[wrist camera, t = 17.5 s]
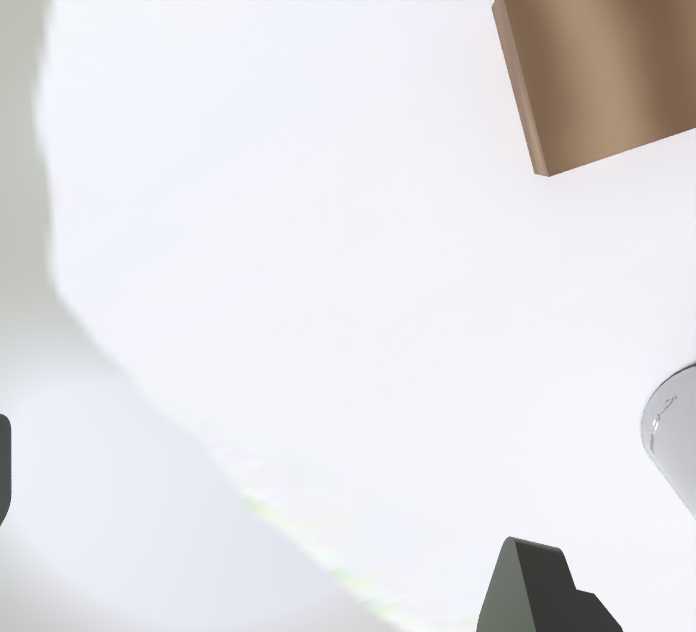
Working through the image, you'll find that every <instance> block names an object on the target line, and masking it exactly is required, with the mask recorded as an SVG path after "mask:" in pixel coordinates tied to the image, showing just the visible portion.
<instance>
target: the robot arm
mask: <svg viewBox="0 0 696 632" xmlns="http://www.w3.org/2000/svg"><path fill="white" fill-rule="evenodd" d="M641 437H642V441H643V445H644V448H645V450H646V451H647V453H648V455H649V457H650V458H651V460H652V461H653V463H654V464H655V465H656V467H657V468H658V469H659V471H660V472H661V473H662V475H663V476H664V477H665V479H666V480H667V481H668V483H669V484H670V485H671V487H672V488H673V490H674V491H675V492H676V494H677V495H678V496H679V498H680V499H681V500H682V502H683V503H684V504H685V506H686V507H687V508H688V510H689V511H690V512H691V514H692V515H693V516H694V518H695V519H696V366H693V367H691V368H688V369H685V370H683V371H681V372H680V373H678V374H676V375H674V376H672V377H671V378H670V379H668V380H667V381H666V382H665V383H664V384H662V385H661V386H660V387H659V388H658V390H657V391H656V392H655V393H654V394H653V396H652V397H651V398H650V400H649V402H648V404H647V406H646V408H645V410H644V414H643V417H642V421H641ZM10 502H11V425H10V422H9V420H8V418H7V417H6V416H4V415H2V414H0V525H1V524H2V522H3V520H4V518H5V516H6V514H7V512H8V509H9V506H10ZM476 632H623V630H622V628H621V626H620V625H619V624H618V623H617V621H616V620H615V619H614V618H613V616H612V615H611V614H610V613H609V611H608V610H607V609H606V608H605V607H604V605H603V604H602V603H601V602H600V600H599V599H598V598H597V597H596V595H595V594H593V593H589V592H584V591H580V590H576V587H575V585H574V582H573V579H572V576H571V573H570V570H569V567H568V565H567V562H566V559H565V556H564V554H563V552H562V551H561V549H559V548H556V547H552V546H548V545H543V544H539V543H535V542H531V541H526V540H522V539H518V538H514V537H508V538H507V539H506V540H505V541H504V543H503V545H502V548H501V551H500V554H499V557H498V560H497V563H496V566H495V569H494V572H493V575H492V578H491V581H490V584H489V588H488V591H487V594H486V597H485V600H484V603H483V606H482V609H481V612H480V615H479V619H478V624H477V631H476Z"/></svg>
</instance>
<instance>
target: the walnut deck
mask: <svg viewBox="0 0 696 632" xmlns="http://www.w3.org/2000/svg"><path fill="white" fill-rule="evenodd" d="M492 11H493V15H494V19H495V23H496V26H497V30H498V34H499V38H500V42H501V46H502V50H503V53H504V57H505V61H506V65H507V69H508V73H509V77H510V80H511V84H512V88H513V92H514V96H515V100H516V103H517V107H518V111H519V115H520V119H521V123H522V127H523V130H524V134H525V138H526V142H527V146H528V150H529V154H530V157H531V161H532V165H533V169H534V173H535V174H539V175H543V176H548V177H550V176H553V175H556V174H559V173H562V172H565V171H568V170H571V169H574V168H577V167H580V166H583V165H586V164H589V163H592V162H595V161H598V160H601V159H603V158H606V157H609V156H612V155H615V154H618V153H621V152H624V151H627V150H630V149H633V148H636V147H639V146H642V145H645V144H648V143H651V142H654V141H657V140H660V139H663V138H666V137H669V136H672V135H675V134H678V133H681V132H684V131H687V130H690V129H693V128H696V0H495V2H494V4H493V6H492Z"/></svg>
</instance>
